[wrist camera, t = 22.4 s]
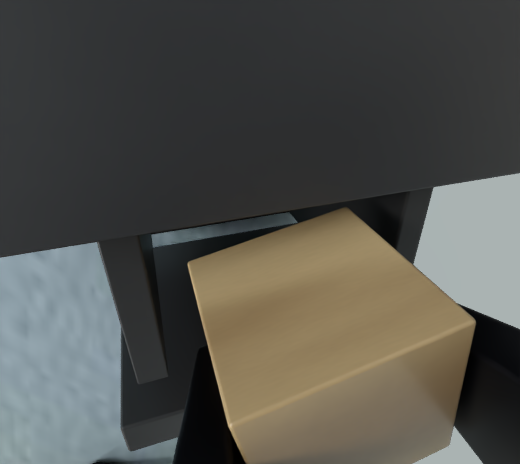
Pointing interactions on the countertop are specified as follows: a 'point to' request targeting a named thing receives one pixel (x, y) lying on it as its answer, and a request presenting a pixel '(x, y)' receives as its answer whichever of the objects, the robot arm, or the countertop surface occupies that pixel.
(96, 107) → the dark grey drawer box
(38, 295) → the countertop surface
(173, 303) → the dark grey drawer
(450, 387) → the block
